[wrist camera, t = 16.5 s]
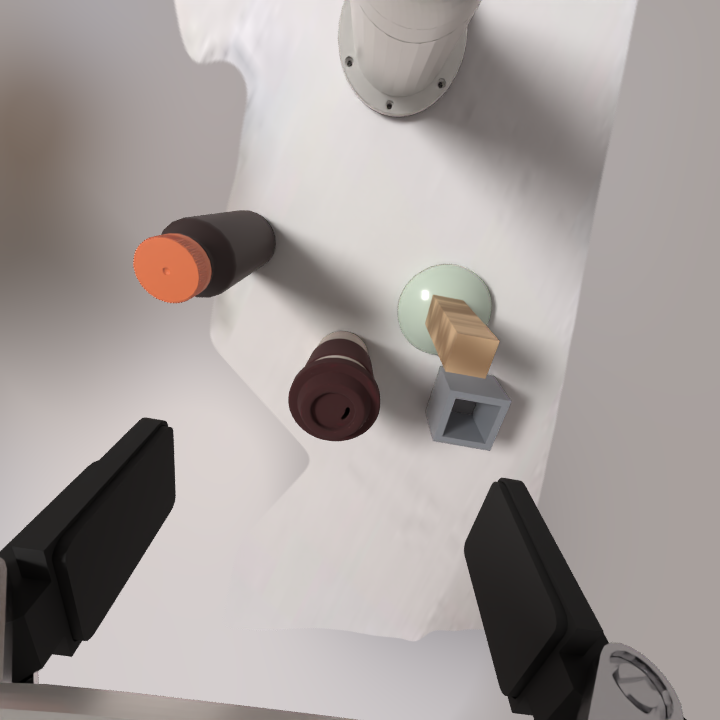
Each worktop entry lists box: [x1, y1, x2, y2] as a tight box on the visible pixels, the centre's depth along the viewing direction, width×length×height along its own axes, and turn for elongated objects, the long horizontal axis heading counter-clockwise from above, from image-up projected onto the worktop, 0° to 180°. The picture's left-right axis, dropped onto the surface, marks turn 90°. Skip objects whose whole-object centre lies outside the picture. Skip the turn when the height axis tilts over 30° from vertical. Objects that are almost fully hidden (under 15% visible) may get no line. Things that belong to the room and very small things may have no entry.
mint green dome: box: [398, 264, 491, 355], centre depth 47 cm, size 12×12×1 cm
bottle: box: [133, 210, 275, 303], centre depth 35 cm, size 7×7×20 cm
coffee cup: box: [289, 331, 380, 441], centre depth 44 cm, size 10×10×15 cm
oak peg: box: [425, 295, 500, 379], centre depth 40 cm, size 4×4×14 cm
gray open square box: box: [425, 366, 512, 451], centre depth 50 cm, size 8×8×7 cm
